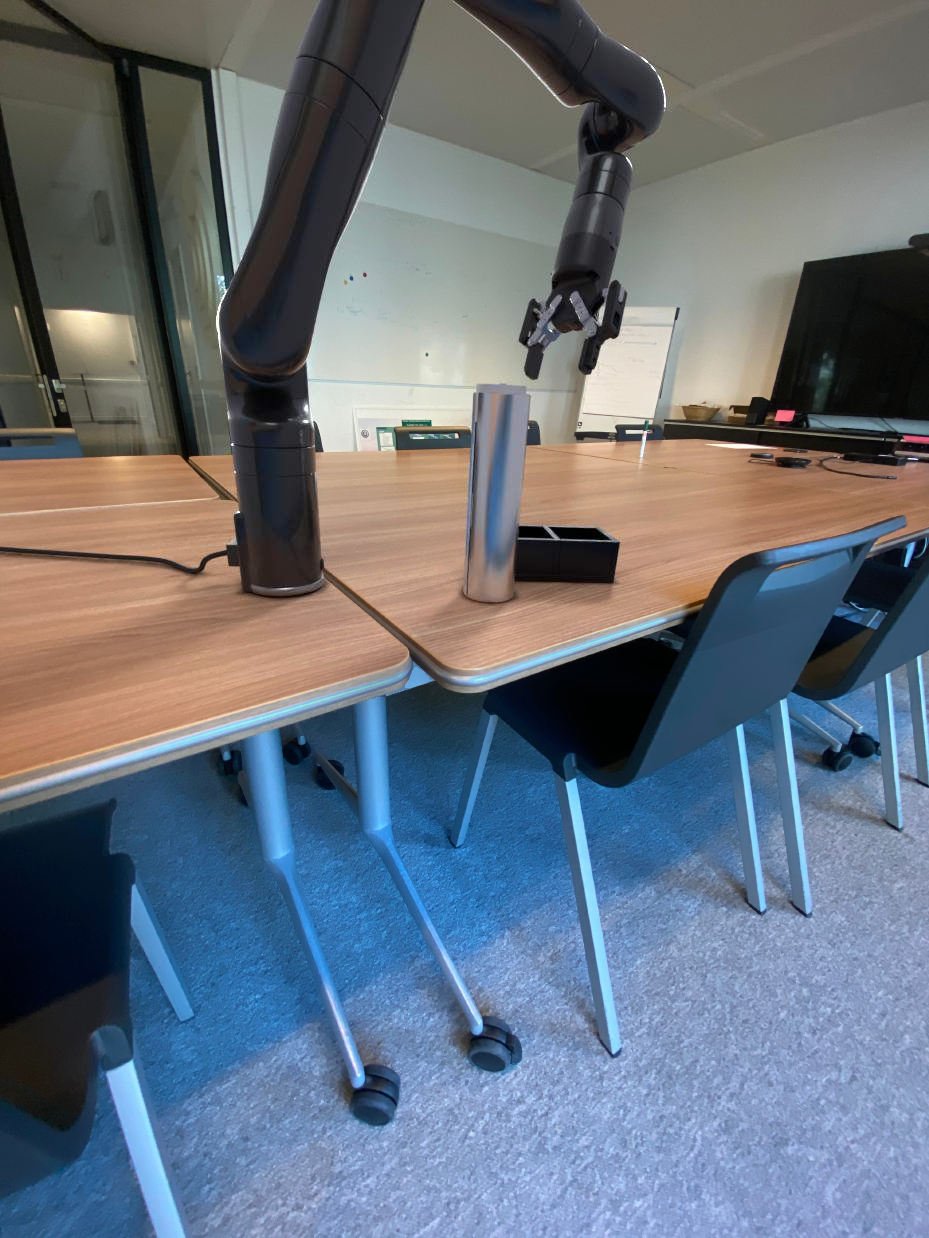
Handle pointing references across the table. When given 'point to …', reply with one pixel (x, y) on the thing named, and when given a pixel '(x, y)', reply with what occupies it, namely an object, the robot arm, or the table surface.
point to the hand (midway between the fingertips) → (556, 375)
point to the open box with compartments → (565, 554)
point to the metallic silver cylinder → (495, 490)
